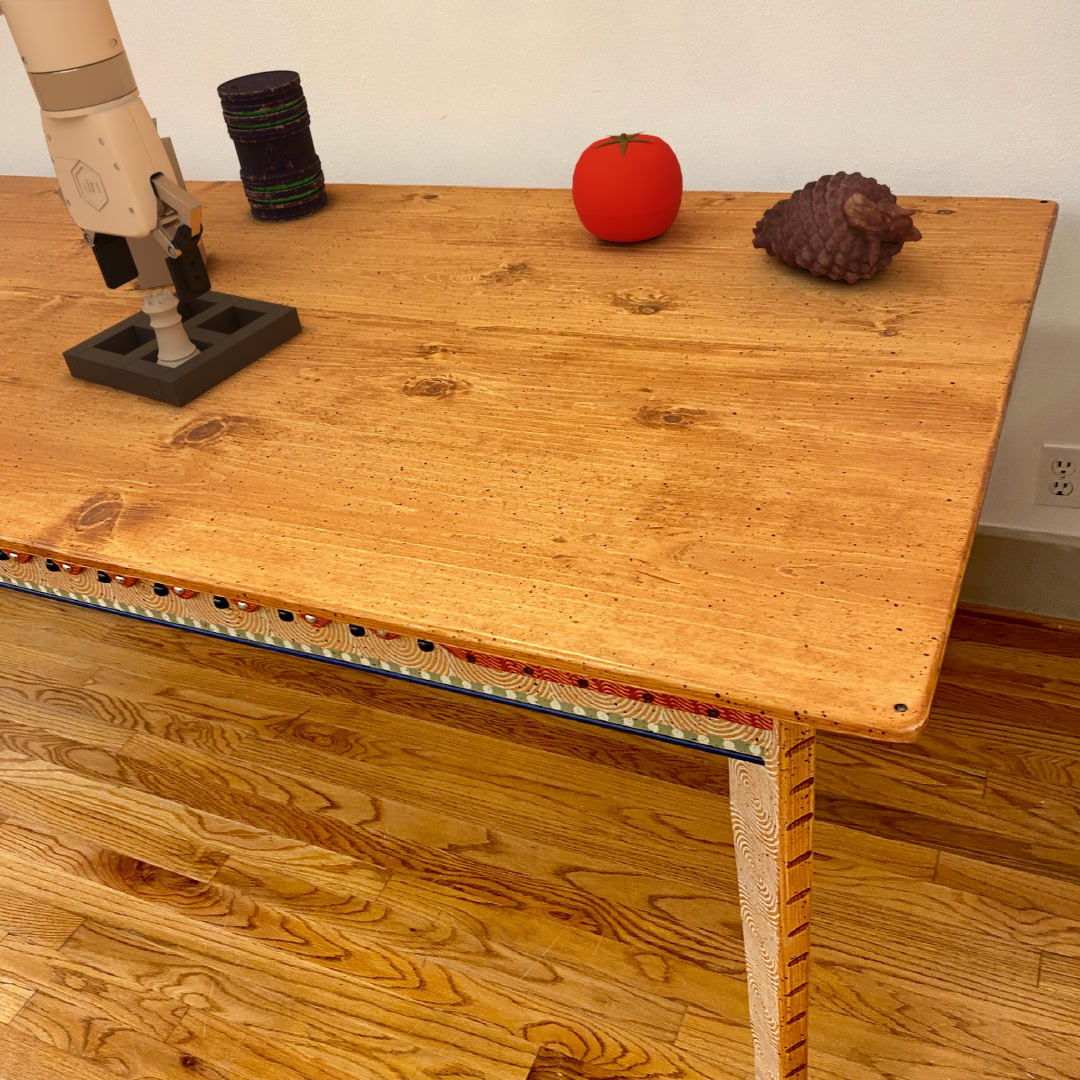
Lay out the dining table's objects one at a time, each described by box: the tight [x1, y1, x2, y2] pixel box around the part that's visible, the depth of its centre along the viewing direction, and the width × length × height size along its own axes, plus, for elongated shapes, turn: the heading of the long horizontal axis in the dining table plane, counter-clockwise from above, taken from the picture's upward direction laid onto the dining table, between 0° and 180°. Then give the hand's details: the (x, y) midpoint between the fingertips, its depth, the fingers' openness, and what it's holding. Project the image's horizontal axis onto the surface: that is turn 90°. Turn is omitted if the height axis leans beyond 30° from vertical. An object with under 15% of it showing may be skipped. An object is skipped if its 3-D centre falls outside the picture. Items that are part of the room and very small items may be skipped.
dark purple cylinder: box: [216, 69, 330, 223], centre depth 131 cm, size 10×10×15 cm
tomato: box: [571, 130, 684, 243], centre depth 111 cm, size 11×12×10 cm
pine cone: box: [751, 170, 924, 285], centre depth 99 cm, size 18×10×10 cm
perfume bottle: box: [125, 117, 208, 290], centre depth 116 cm, size 7×7×18 cm
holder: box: [61, 290, 303, 407], centre depth 103 cm, size 16×16×2 cm
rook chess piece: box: [141, 288, 201, 368], centre depth 98 cm, size 4×4×8 cm
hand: (159, 289), depth 95 cm, fingers open, 9 cm apart
